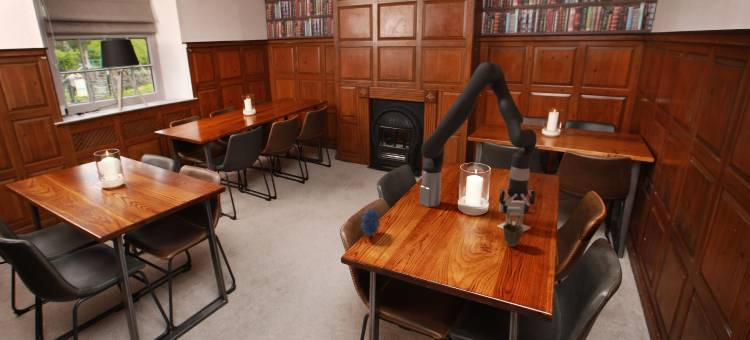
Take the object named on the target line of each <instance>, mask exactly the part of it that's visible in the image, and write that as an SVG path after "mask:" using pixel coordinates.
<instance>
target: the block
mask: <svg viewBox="0 0 750 340" xmlns="http://www.w3.org/2000/svg"><path fill="white" fill-rule="evenodd" d="M524 205H525V202H524V200H521V201H519V200H516V201H514V200H512V201H511V202H510V203H509V204H508V205H507V206H508V207H520V208H521V209H522V210H523V211H524ZM498 211H499V213H504V212H503V204H500V203H499V207H498Z"/></svg>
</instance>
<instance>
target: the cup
mask: <svg viewBox="0 0 750 340" xmlns="http://www.w3.org/2000/svg"><path fill="white" fill-rule="evenodd" d="M502 233H503V239H504V241H505V242H506V245H507V246H508V247H511V248H514V247H516V246H517V244H518V243H520V241H521V239H522V235H523V233H524V232H523V229H522V227H521V226H520V225H517V224H515V226H514V225H512V223H511V224H509V223H508V224H507V225H506V224H505V226H503V229H502Z"/></svg>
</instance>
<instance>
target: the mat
mask: <svg viewBox="0 0 750 340" xmlns="http://www.w3.org/2000/svg"><path fill="white" fill-rule="evenodd" d="M512 225H514V226H515V220H513V223H512ZM503 226H505V221H504V222H502V223H500V224H498V225H497V226H496V227H497V228H499V229H502V230H503ZM522 229H523V232H522V233H524V232H525V231H528V230H529V229H531V226H529V225H526V224H522Z"/></svg>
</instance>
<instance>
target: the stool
mask: <svg viewBox="0 0 750 340" xmlns="http://www.w3.org/2000/svg"><path fill="white" fill-rule="evenodd" d="M524 214H525V213H524V211H523V210H522V209H521V208H520V207H508V208H507V214H505V221H504V222H505V224H506V225H507V224H508V223H509V224H511V223H513V221H515V224H517V225H520V226H521V227H522V224H523V223H524ZM514 216H515V220H514ZM523 225H524V224H523Z"/></svg>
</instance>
